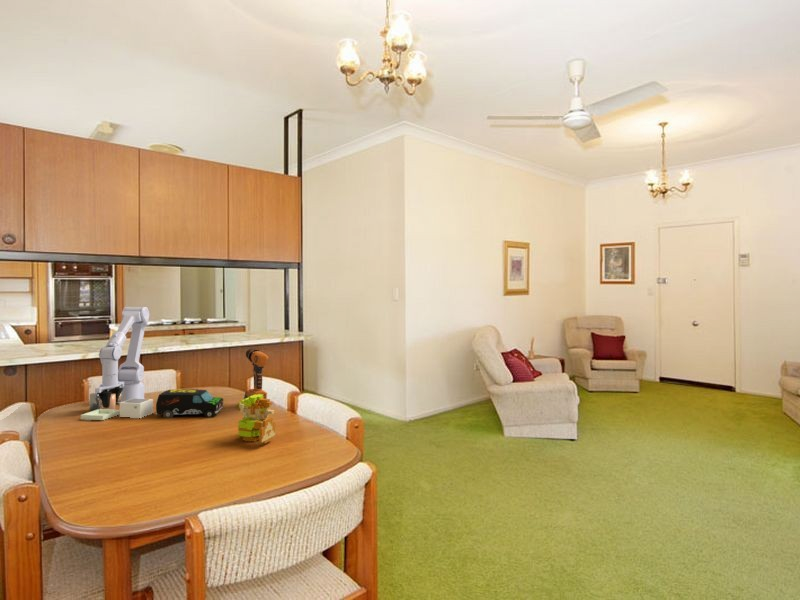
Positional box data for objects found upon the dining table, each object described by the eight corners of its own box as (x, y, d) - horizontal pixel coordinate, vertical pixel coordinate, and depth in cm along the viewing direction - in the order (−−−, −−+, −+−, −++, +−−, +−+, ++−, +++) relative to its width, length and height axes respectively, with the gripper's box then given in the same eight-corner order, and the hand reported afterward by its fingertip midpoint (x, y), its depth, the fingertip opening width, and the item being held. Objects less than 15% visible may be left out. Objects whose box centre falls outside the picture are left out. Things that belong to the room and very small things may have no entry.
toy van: (217, 417, 191) (217, 393, 191) (154, 418, 188) (154, 394, 188) (224, 411, 201) (224, 388, 201) (164, 411, 199) (165, 388, 199)
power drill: (239, 400, 220) (239, 347, 220) (254, 398, 225) (255, 347, 224) (253, 410, 203) (253, 353, 202) (269, 408, 207) (270, 352, 206)
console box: (133, 412, 197) (133, 397, 197) (153, 413, 196) (153, 398, 196) (119, 417, 188) (119, 402, 188) (139, 418, 187) (139, 403, 187)
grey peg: (94, 408, 202) (94, 392, 202) (102, 409, 202) (103, 392, 202) (87, 410, 198) (87, 394, 198) (95, 411, 198) (95, 394, 198)
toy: (261, 448, 155) (262, 403, 154) (225, 443, 158) (225, 399, 158) (284, 434, 169) (285, 393, 169) (250, 431, 173) (251, 390, 173)
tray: (99, 413, 194) (99, 408, 194) (120, 414, 193) (120, 409, 193) (80, 419, 184) (80, 414, 184) (102, 421, 183) (102, 416, 183)
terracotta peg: (109, 409, 201) (109, 393, 201) (117, 409, 201) (117, 393, 201) (102, 411, 197) (102, 395, 197) (110, 412, 197) (111, 395, 197)
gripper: (114, 371, 206) (113, 401, 207) (88, 377, 192) (88, 410, 192) (128, 371, 206) (128, 402, 206) (103, 377, 191) (103, 410, 191)
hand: (110, 406), depth 199 cm, fingers closed on terracotta peg, 4 cm apart
